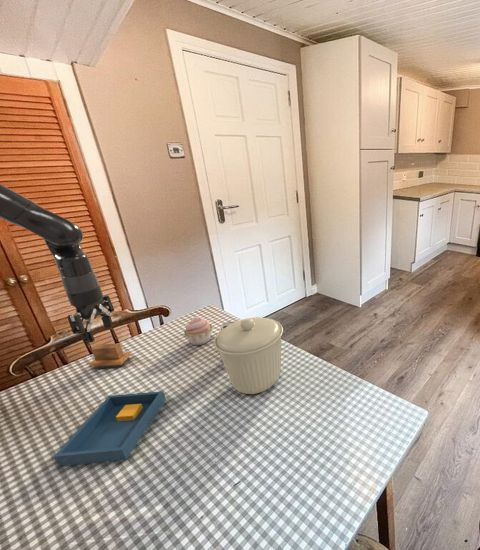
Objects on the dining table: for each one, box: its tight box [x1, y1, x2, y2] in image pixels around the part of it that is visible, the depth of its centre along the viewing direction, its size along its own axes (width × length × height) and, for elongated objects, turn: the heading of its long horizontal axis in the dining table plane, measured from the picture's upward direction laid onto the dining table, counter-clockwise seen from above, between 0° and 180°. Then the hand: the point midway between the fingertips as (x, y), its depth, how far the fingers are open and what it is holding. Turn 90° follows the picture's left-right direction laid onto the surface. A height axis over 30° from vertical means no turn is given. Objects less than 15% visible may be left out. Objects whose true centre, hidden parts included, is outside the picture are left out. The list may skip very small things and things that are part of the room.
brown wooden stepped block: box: [89, 342, 132, 370], centre depth 97 cm, size 9×5×7 cm, turn 96°
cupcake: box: [183, 316, 213, 346], centre depth 108 cm, size 9×9×10 cm
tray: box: [53, 390, 167, 468], centre depth 74 cm, size 14×18×4 cm
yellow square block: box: [116, 404, 143, 421], centre depth 78 cm, size 4×4×2 cm
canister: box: [213, 316, 284, 395], centre depth 86 cm, size 18×18×21 cm
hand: (100, 334), depth 95 cm, fingers open, 8 cm apart
